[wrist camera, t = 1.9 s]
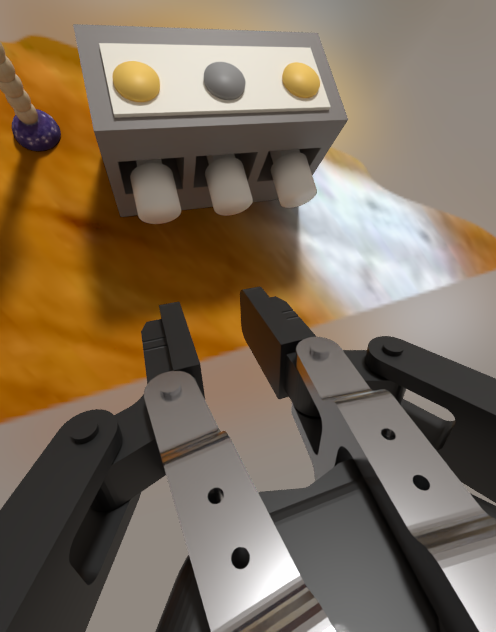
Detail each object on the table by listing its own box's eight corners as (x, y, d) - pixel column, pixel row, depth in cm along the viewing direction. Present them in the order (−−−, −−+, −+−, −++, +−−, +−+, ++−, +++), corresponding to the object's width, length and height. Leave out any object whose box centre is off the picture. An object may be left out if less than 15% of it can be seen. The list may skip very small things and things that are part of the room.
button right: (275, 209, 32) (287, 188, 29) (258, 152, 33) (268, 125, 30) (307, 205, 33) (323, 184, 30) (290, 150, 34) (303, 123, 31)
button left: (140, 226, 29) (135, 203, 25) (126, 162, 30) (120, 132, 26) (180, 221, 30) (181, 199, 26) (166, 159, 31) (165, 130, 27)
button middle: (211, 217, 30) (216, 195, 27) (196, 157, 31) (199, 128, 28) (247, 213, 31) (256, 191, 28) (231, 154, 32) (238, 126, 29)
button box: (120, 217, 33) (91, 124, 21) (105, 140, 34) (70, 15, 23) (298, 197, 38) (351, 113, 27) (278, 131, 39) (320, 25, 28)
